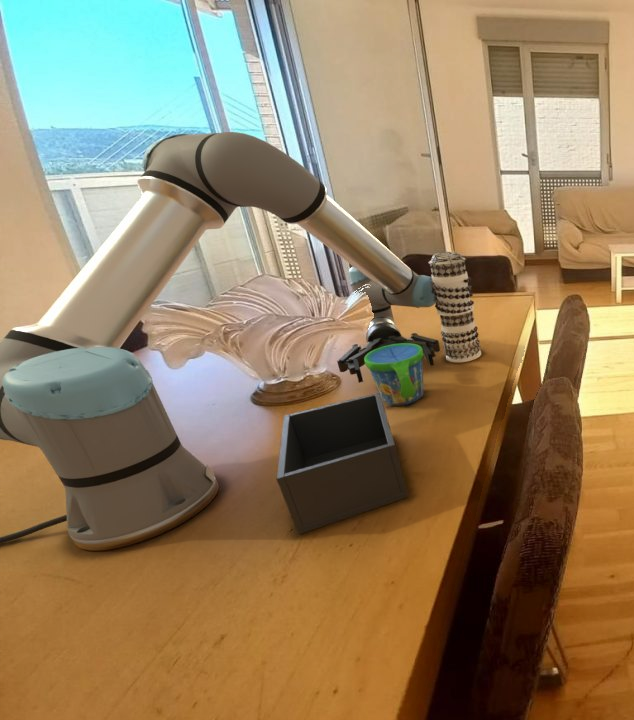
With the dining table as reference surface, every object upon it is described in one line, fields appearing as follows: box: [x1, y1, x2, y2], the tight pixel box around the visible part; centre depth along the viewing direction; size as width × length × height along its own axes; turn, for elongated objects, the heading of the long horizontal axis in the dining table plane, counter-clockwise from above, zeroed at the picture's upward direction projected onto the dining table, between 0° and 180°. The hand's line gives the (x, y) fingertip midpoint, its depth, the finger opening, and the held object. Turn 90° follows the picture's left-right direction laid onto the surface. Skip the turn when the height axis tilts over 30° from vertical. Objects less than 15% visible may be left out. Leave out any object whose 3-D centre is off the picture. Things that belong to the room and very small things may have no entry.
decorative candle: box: [428, 251, 482, 364], centre depth 111 cm, size 9×9×25 cm
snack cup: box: [364, 343, 424, 407], centre depth 94 cm, size 16×10×10 cm
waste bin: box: [276, 392, 409, 535], centre depth 71 cm, size 14×19×9 cm
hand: (396, 367), depth 96 cm, fingers open, 13 cm apart
